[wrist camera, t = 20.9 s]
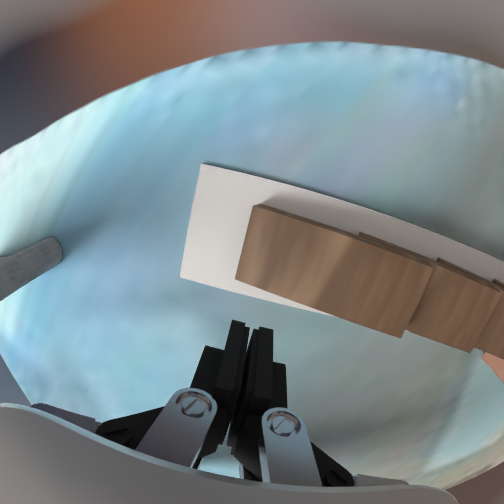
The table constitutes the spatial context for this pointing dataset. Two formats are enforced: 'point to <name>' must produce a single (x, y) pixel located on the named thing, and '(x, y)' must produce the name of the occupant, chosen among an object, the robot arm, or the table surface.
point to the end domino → (495, 364)
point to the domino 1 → (331, 270)
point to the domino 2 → (450, 304)
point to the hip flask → (28, 264)
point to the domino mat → (302, 204)
